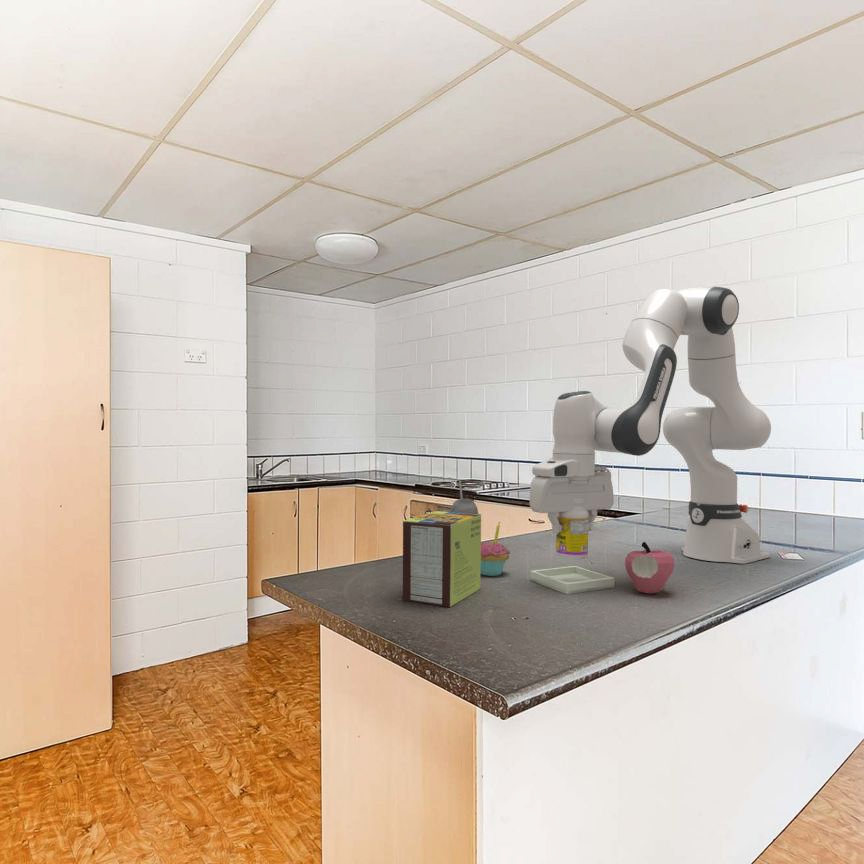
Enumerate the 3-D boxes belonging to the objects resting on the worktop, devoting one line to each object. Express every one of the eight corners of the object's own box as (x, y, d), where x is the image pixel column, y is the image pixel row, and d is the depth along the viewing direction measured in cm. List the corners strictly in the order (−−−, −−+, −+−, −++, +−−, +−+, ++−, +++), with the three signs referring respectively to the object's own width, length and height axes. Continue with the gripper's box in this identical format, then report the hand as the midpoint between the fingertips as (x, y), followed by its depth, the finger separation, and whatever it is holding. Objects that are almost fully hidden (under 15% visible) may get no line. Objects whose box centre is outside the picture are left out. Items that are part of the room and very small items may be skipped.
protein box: (481, 589, 131) (482, 513, 130) (450, 608, 117) (451, 524, 117) (435, 582, 135) (436, 510, 135) (400, 600, 121) (401, 519, 121)
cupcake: (514, 571, 146) (514, 519, 146) (502, 579, 138) (502, 524, 138) (479, 567, 150) (479, 517, 149) (465, 575, 142) (466, 522, 142)
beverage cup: (476, 564, 153) (477, 481, 152) (446, 563, 154) (447, 481, 154) (480, 558, 160) (481, 479, 159) (451, 557, 161) (452, 478, 161)
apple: (618, 592, 129) (619, 543, 128) (632, 584, 136) (632, 537, 136) (667, 600, 123) (668, 549, 123) (678, 591, 130) (679, 543, 130)
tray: (575, 574, 144) (575, 565, 144) (614, 587, 133) (614, 578, 133) (529, 580, 138) (529, 570, 138) (566, 594, 127) (566, 584, 127)
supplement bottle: (552, 553, 138) (553, 495, 138) (582, 553, 139) (583, 495, 139) (561, 560, 132) (562, 498, 132) (592, 560, 132) (593, 498, 132)
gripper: (600, 465, 143) (599, 526, 143) (525, 467, 133) (524, 532, 133) (620, 467, 137) (619, 531, 137) (544, 469, 128) (543, 537, 128)
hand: (572, 531), depth 135 cm, fingers closed on supplement bottle, 7 cm apart
